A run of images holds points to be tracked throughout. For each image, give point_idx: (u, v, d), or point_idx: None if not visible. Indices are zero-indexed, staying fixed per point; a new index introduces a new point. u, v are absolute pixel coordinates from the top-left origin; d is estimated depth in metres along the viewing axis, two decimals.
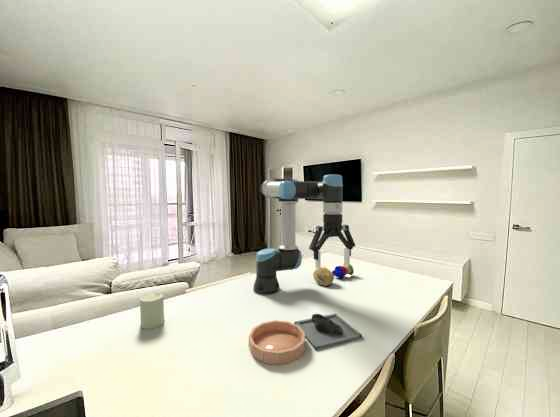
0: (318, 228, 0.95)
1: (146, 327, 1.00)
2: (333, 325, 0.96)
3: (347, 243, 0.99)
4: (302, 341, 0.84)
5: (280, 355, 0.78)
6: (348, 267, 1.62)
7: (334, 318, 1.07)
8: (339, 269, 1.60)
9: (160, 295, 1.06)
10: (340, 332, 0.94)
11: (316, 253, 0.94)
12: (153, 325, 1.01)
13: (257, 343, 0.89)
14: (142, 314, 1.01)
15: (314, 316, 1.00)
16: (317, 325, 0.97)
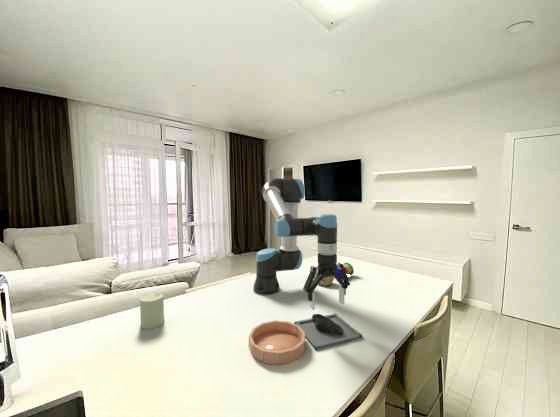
0: (312, 269, 0.94)
1: (146, 327, 1.00)
2: (333, 325, 0.96)
3: (342, 282, 0.98)
4: (302, 341, 0.84)
5: (280, 355, 0.78)
6: (348, 267, 1.63)
7: (334, 318, 1.07)
8: None
9: (160, 295, 1.06)
10: (340, 332, 0.94)
11: (310, 294, 0.94)
12: (153, 325, 1.01)
13: (257, 343, 0.89)
14: (142, 314, 1.01)
15: (314, 316, 1.00)
16: (317, 325, 0.97)
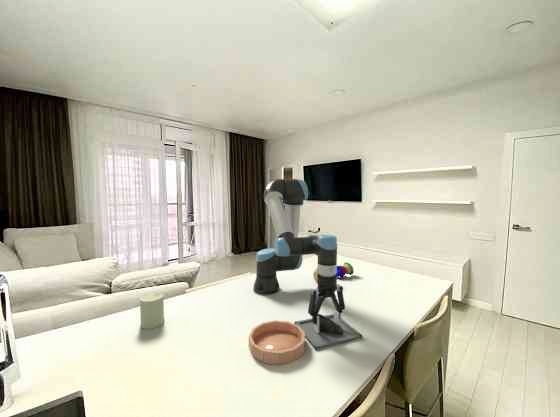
0: (312, 292, 0.95)
1: (146, 327, 1.00)
2: (333, 325, 0.96)
3: (338, 306, 0.98)
4: (302, 341, 0.84)
5: (280, 355, 0.78)
6: (348, 267, 1.63)
7: None
8: (339, 269, 1.61)
9: (160, 295, 1.06)
10: (341, 332, 0.94)
11: (315, 318, 0.95)
12: (153, 325, 1.01)
13: (257, 343, 0.89)
14: (142, 314, 1.01)
15: None
16: None
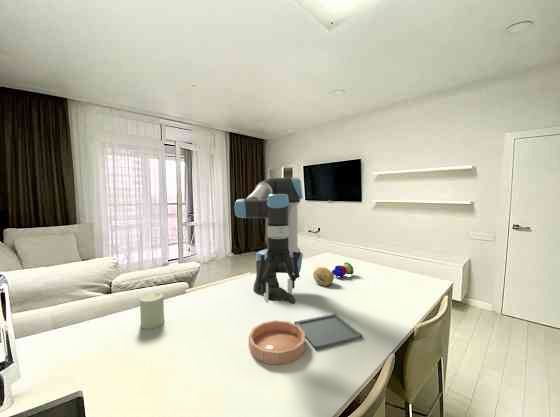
0: (260, 257, 0.84)
1: (146, 327, 1.00)
2: (285, 294, 0.85)
3: (291, 273, 0.88)
4: (302, 341, 0.84)
5: (280, 355, 0.78)
6: (348, 267, 1.63)
7: (334, 318, 1.07)
8: (339, 268, 1.61)
9: (160, 295, 1.06)
10: (292, 301, 0.84)
11: (263, 285, 0.85)
12: (153, 325, 1.01)
13: (257, 343, 0.89)
14: (142, 314, 1.01)
15: None
16: (268, 294, 0.87)
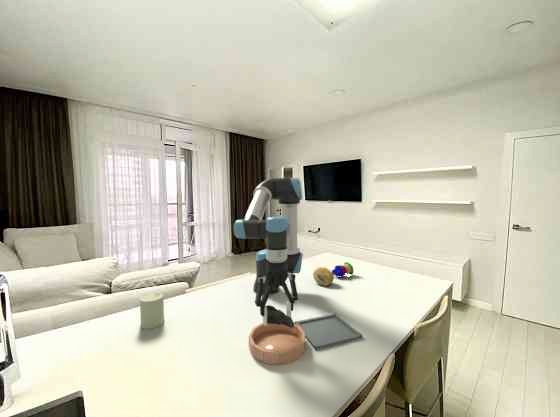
0: (259, 280, 0.85)
1: (146, 327, 1.00)
2: (283, 317, 0.86)
3: (289, 296, 0.88)
4: (302, 341, 0.84)
5: (280, 355, 0.78)
6: (348, 267, 1.64)
7: (334, 318, 1.07)
8: (339, 268, 1.62)
9: (160, 295, 1.06)
10: (290, 325, 0.84)
11: (262, 309, 0.85)
12: (153, 325, 1.01)
13: (257, 343, 0.89)
14: (142, 314, 1.01)
15: None
16: None
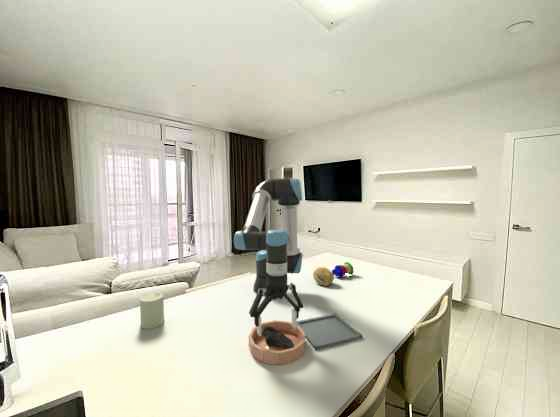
0: (259, 291, 0.85)
1: (146, 327, 1.00)
2: (283, 339, 0.86)
3: (294, 305, 0.89)
4: (302, 341, 0.84)
5: (280, 355, 0.78)
6: (348, 266, 1.64)
7: (334, 318, 1.07)
8: (339, 268, 1.62)
9: (160, 295, 1.06)
10: None
11: (256, 319, 0.85)
12: (153, 325, 1.01)
13: (257, 343, 0.89)
14: (142, 314, 1.01)
15: (265, 329, 0.91)
16: (267, 339, 0.88)
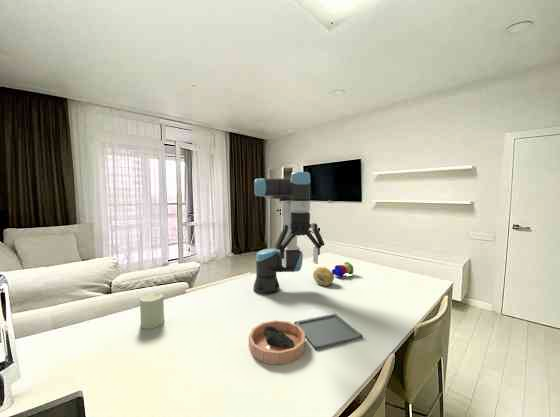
0: (284, 226, 0.93)
1: (146, 327, 1.00)
2: (284, 339, 0.86)
3: (315, 242, 0.97)
4: (302, 341, 0.84)
5: (280, 355, 0.78)
6: (348, 266, 1.64)
7: (334, 318, 1.07)
8: (338, 268, 1.62)
9: (160, 295, 1.06)
10: (291, 347, 0.85)
11: (282, 252, 0.93)
12: (153, 325, 1.01)
13: (257, 343, 0.89)
14: (142, 314, 1.01)
15: (266, 328, 0.91)
16: (268, 339, 0.88)
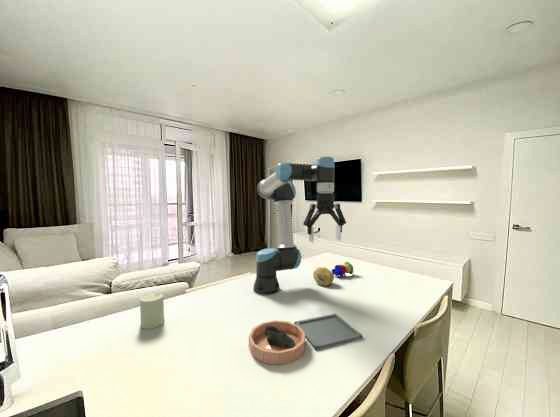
0: (312, 206, 1.04)
1: (146, 327, 1.00)
2: (285, 339, 0.86)
3: (338, 220, 1.08)
4: (302, 341, 0.84)
5: (280, 355, 0.78)
6: (348, 266, 1.65)
7: (334, 318, 1.07)
8: (338, 268, 1.63)
9: (160, 295, 1.06)
10: (292, 347, 0.85)
11: (310, 228, 1.04)
12: (153, 325, 1.01)
13: (257, 343, 0.89)
14: (142, 314, 1.01)
15: (267, 328, 0.91)
16: (268, 339, 0.88)
